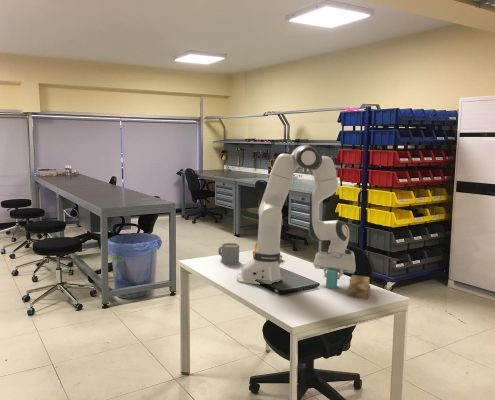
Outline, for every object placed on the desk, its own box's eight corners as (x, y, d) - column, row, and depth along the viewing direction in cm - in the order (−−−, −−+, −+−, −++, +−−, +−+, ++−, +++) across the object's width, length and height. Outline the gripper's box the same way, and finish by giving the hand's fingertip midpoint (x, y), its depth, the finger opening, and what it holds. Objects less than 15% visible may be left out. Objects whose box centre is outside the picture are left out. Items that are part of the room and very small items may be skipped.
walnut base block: (347, 296, 209) (347, 288, 209) (350, 290, 217) (350, 282, 217) (367, 299, 206) (368, 291, 205) (369, 293, 214) (370, 285, 214)
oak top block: (349, 288, 209) (349, 279, 208) (351, 283, 216) (352, 274, 216) (367, 290, 206) (367, 282, 206) (369, 285, 214) (369, 277, 213)
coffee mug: (242, 262, 259) (243, 245, 258) (228, 265, 253) (229, 247, 251) (227, 257, 269) (228, 240, 268) (214, 260, 263) (214, 243, 261)
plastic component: (284, 256, 266) (271, 251, 261) (278, 268, 266) (266, 262, 261) (266, 246, 283) (254, 241, 278) (261, 257, 283) (249, 252, 277)
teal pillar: (325, 287, 220) (326, 271, 219) (327, 284, 225) (328, 268, 224) (335, 288, 219) (336, 272, 218) (337, 285, 223) (337, 270, 222)
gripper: (315, 247, 230) (309, 271, 222) (356, 252, 222) (352, 277, 214) (317, 254, 234) (311, 277, 227) (357, 259, 227) (353, 283, 219)
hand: (331, 277), depth 221 cm, fingers closed on teal pillar, 4 cm apart
